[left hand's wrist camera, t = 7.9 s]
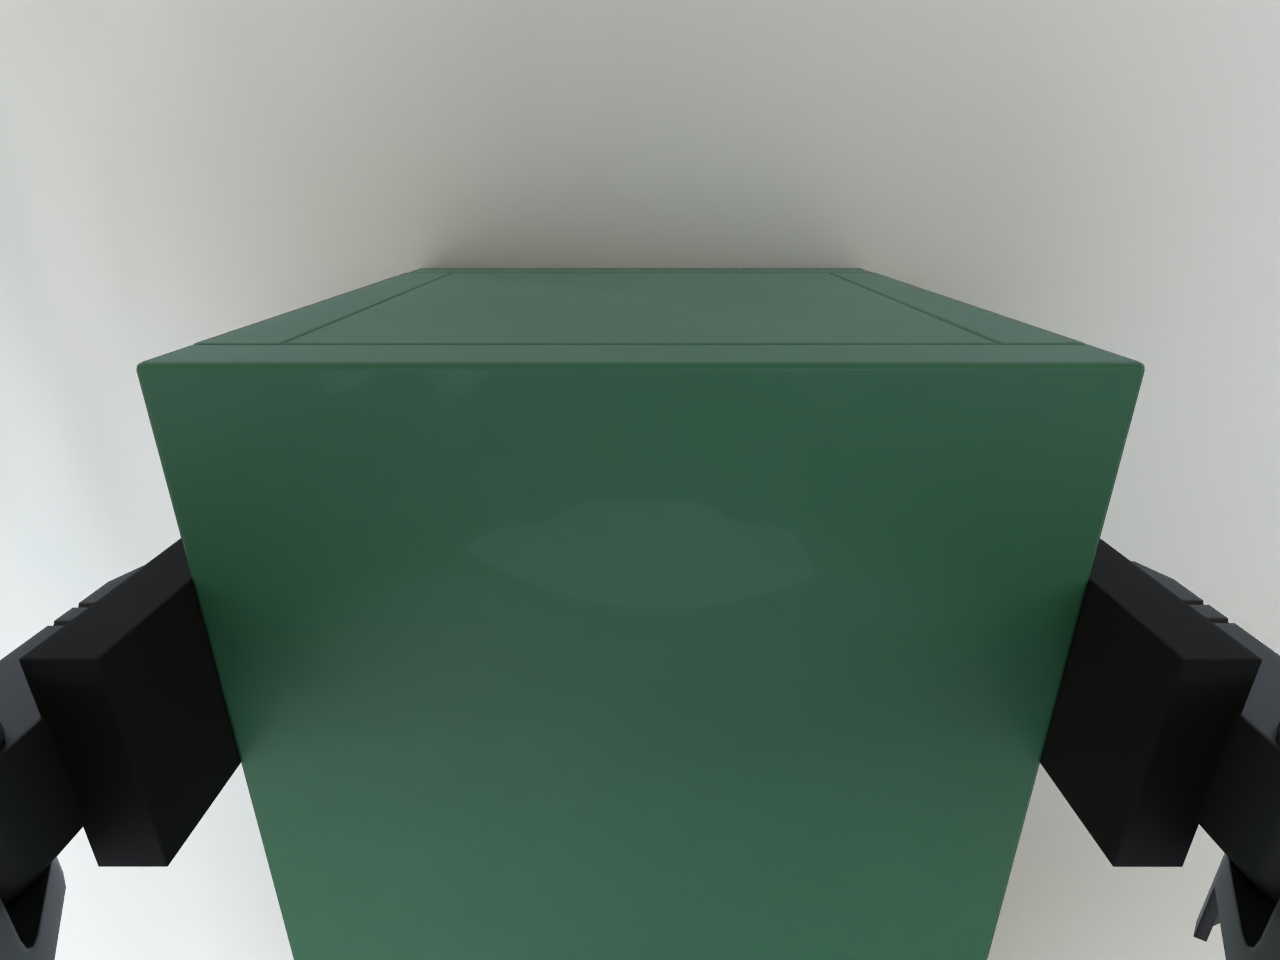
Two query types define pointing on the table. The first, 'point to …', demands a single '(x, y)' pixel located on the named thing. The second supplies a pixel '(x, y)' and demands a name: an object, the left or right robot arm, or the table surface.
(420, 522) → the cabinet
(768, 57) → the table surface
